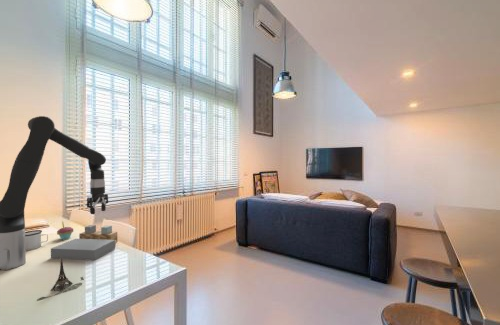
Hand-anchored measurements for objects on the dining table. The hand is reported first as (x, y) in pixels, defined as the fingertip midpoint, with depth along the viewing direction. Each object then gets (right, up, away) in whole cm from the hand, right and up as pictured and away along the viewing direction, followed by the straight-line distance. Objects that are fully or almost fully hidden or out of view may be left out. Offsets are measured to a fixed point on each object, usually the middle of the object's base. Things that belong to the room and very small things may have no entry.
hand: (98, 212), depth 141 cm
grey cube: (-5, -13, +1) cm, 14 cm away
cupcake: (-28, -19, +9) cm, 35 cm away
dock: (+3, -19, -16) cm, 25 cm away
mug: (-33, -19, -7) cm, 39 cm away
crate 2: (+6, -13, -1) cm, 14 cm away
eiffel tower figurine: (+18, -20, -50) cm, 57 cm away
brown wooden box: (0, -19, 0) cm, 19 cm away
